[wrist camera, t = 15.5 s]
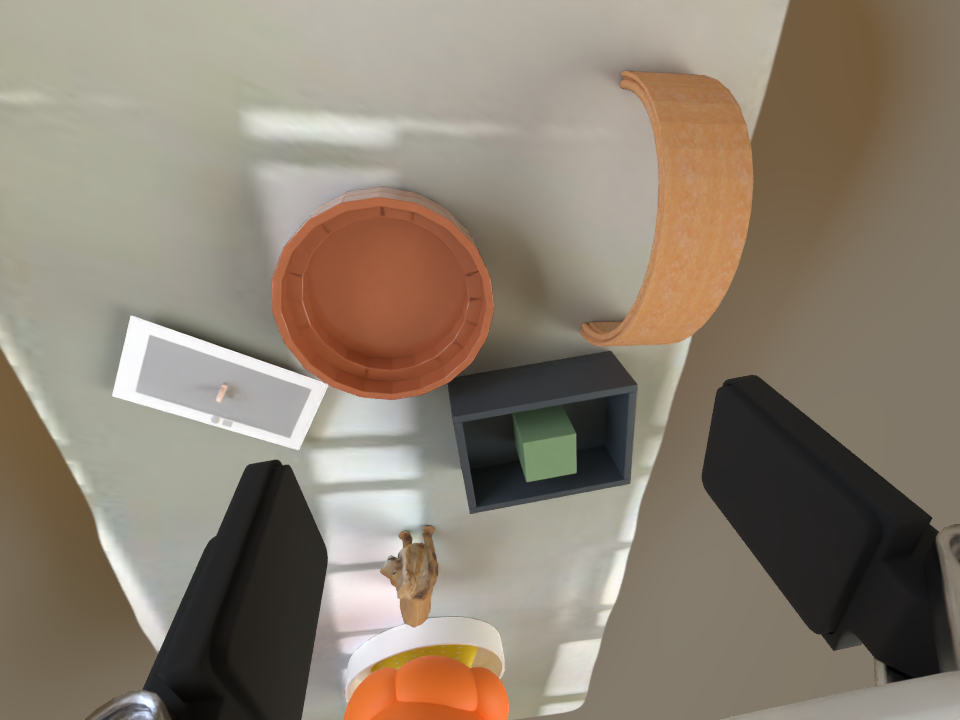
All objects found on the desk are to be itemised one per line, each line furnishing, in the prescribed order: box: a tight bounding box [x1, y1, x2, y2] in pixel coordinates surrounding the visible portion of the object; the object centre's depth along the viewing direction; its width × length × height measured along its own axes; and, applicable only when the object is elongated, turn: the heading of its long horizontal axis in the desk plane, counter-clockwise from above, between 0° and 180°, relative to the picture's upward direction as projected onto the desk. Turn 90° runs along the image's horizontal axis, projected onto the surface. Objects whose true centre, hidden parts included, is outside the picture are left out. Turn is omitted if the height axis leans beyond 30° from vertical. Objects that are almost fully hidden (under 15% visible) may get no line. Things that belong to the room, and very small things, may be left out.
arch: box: [580, 71, 753, 346], centre depth 33 cm, size 6×20×10 cm, turn 177°
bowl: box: [272, 187, 494, 400], centre depth 36 cm, size 16×16×4 cm
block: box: [511, 405, 577, 482], centre depth 43 cm, size 5×5×6 cm
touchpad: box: [112, 316, 329, 450], centre depth 39 cm, size 8×15×2 cm, turn 61°
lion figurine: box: [380, 525, 438, 628], centre depth 49 cm, size 15×5×9 cm, turn 4°
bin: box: [448, 351, 637, 514], centre depth 43 cm, size 11×15×6 cm
